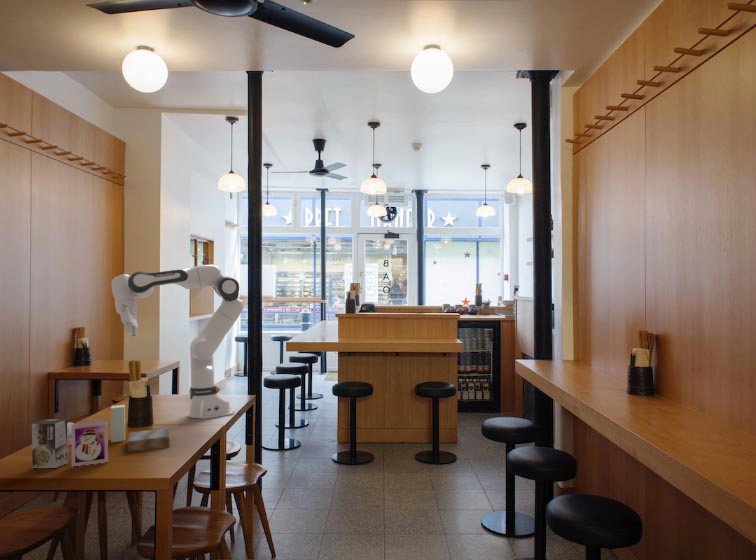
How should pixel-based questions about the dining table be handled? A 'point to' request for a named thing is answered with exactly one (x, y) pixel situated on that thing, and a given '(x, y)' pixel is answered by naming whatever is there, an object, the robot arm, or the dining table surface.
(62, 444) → the coffee box
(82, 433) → the greeting card
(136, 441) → the walnut plinth
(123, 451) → the dining table surface
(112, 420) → the sage pillar
